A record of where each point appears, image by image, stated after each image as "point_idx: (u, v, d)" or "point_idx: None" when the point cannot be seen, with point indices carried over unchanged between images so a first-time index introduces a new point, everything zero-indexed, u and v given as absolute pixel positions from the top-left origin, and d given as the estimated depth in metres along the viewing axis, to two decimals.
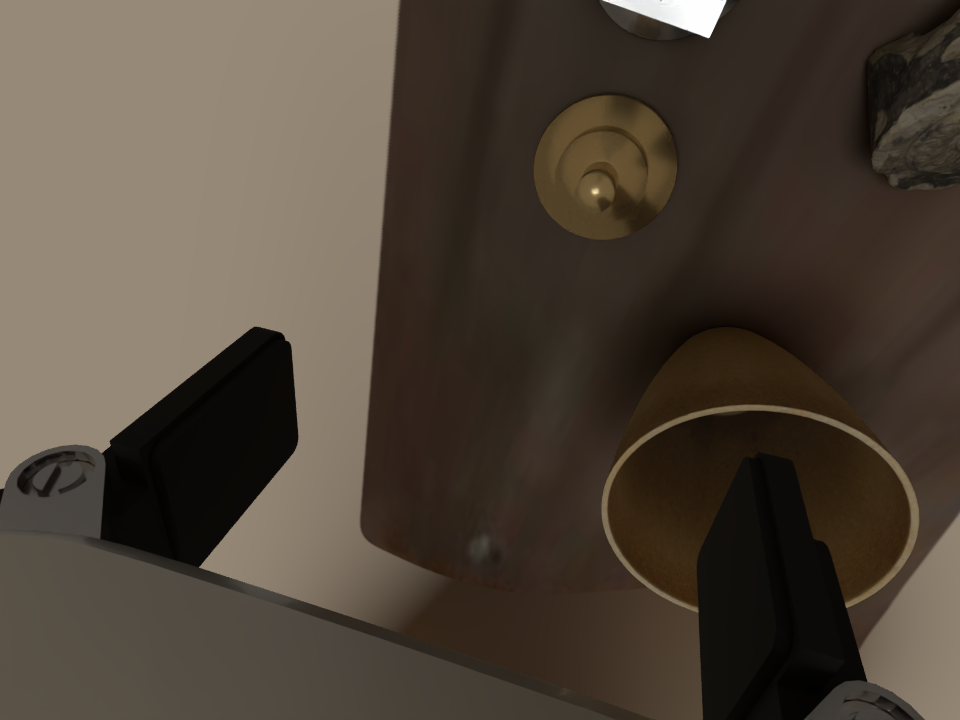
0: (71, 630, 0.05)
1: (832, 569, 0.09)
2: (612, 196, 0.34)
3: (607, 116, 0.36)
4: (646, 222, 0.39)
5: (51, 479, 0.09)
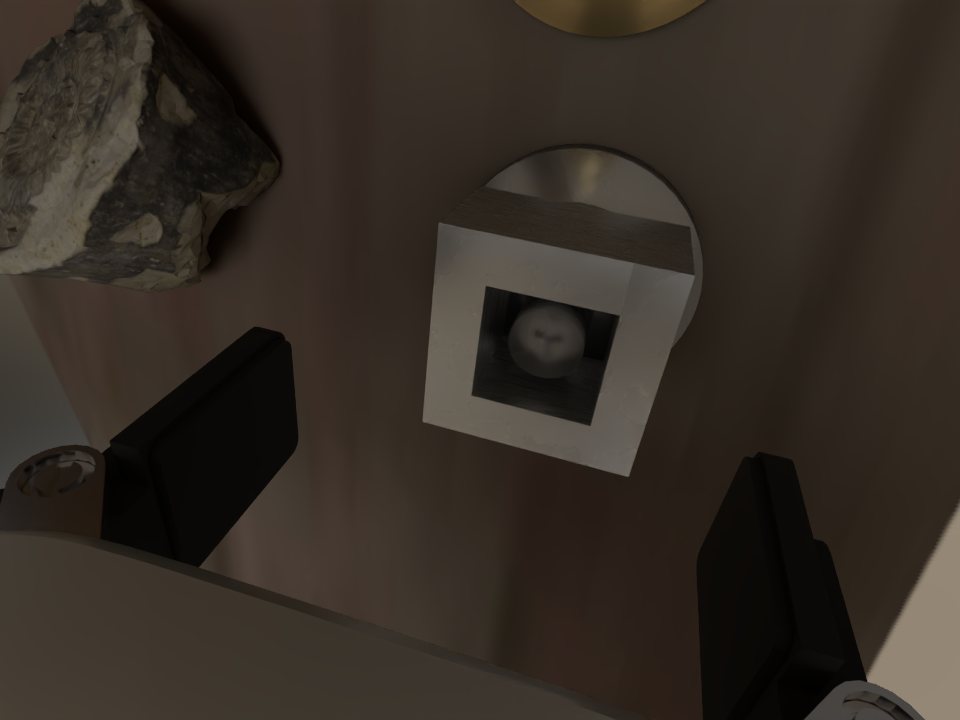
0: (71, 630, 0.05)
1: (832, 569, 0.09)
2: None
3: None
4: None
5: (51, 479, 0.09)
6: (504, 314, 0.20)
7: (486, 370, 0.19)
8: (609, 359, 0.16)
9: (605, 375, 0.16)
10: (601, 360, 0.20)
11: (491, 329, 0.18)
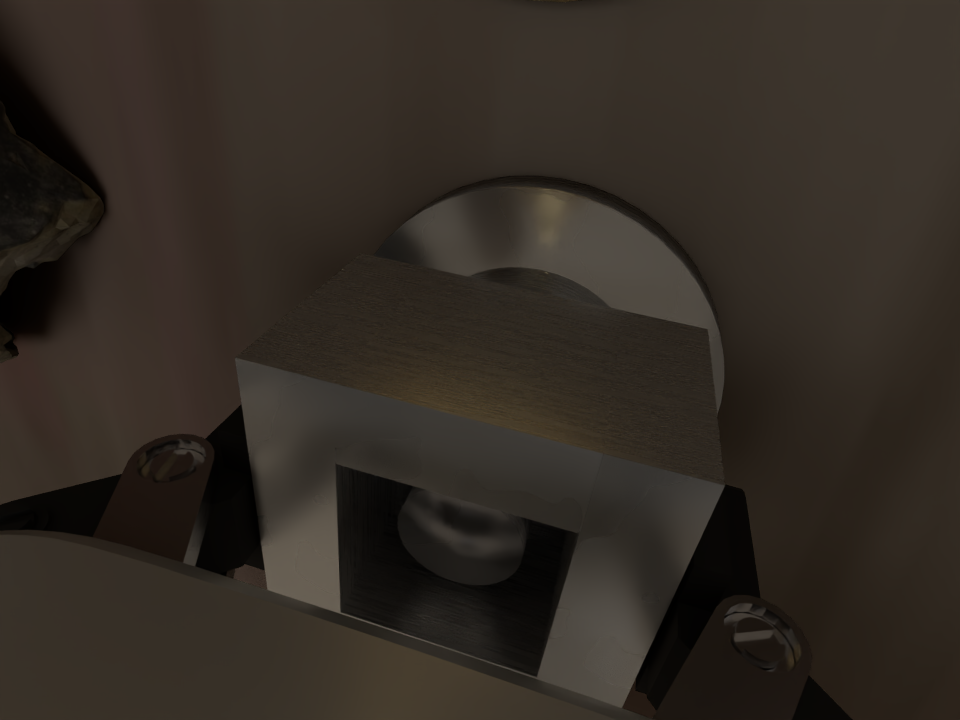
0: (71, 630, 0.05)
1: (745, 511, 0.10)
2: None
3: None
4: None
5: (165, 466, 0.09)
6: None
7: (378, 547, 0.12)
8: (563, 593, 0.09)
9: (557, 614, 0.09)
10: None
11: (380, 491, 0.11)
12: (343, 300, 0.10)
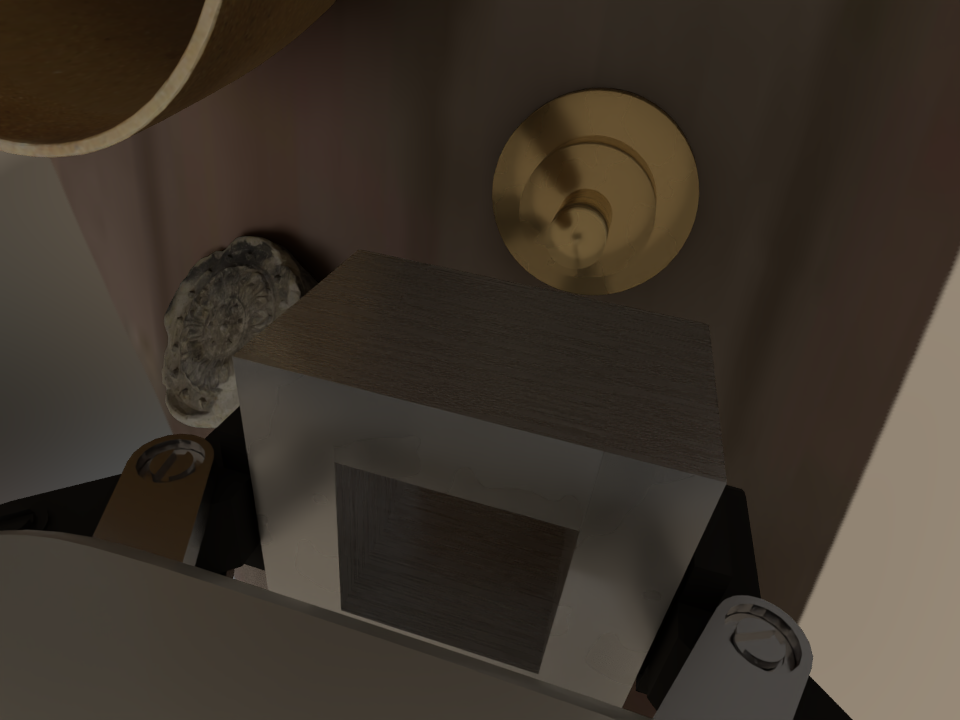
0: (71, 630, 0.05)
1: (745, 511, 0.10)
2: (548, 242, 0.22)
3: None
4: (512, 139, 0.26)
5: (165, 466, 0.09)
6: None
7: (378, 544, 0.12)
8: (564, 590, 0.09)
9: (558, 611, 0.09)
10: None
11: (379, 488, 0.11)
12: (341, 297, 0.10)
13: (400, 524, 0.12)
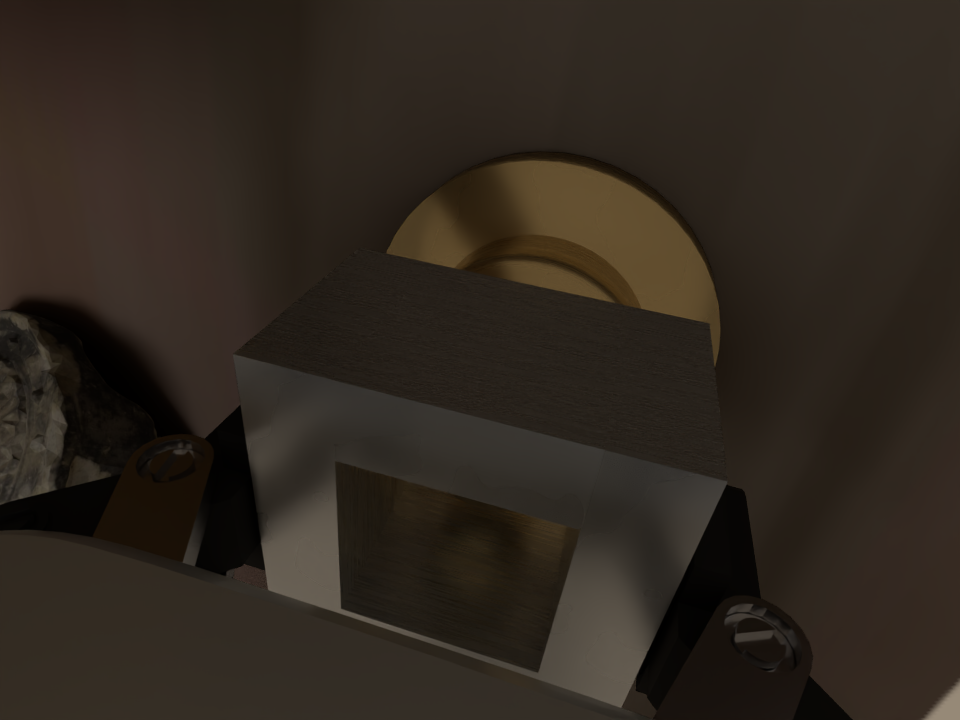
0: (71, 630, 0.05)
1: (745, 511, 0.10)
2: None
3: None
4: (408, 225, 0.15)
5: (165, 466, 0.09)
6: None
7: (378, 543, 0.12)
8: (564, 589, 0.09)
9: (559, 610, 0.09)
10: None
11: (380, 487, 0.11)
12: (342, 295, 0.10)
13: (400, 523, 0.12)
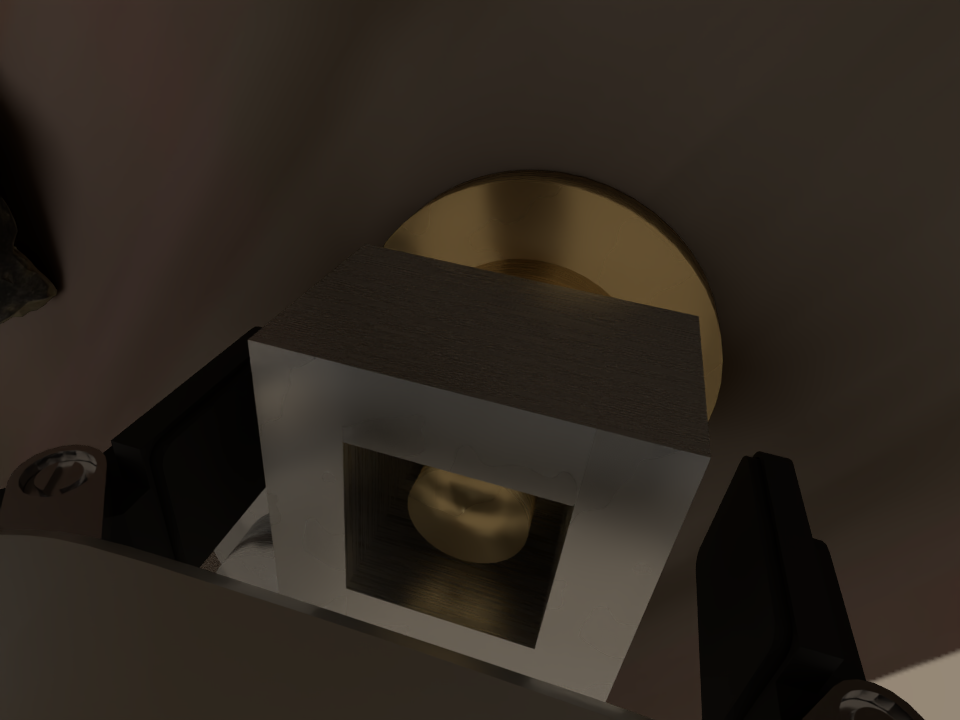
0: (71, 630, 0.05)
1: (831, 568, 0.09)
2: (416, 489, 0.10)
3: None
4: (462, 196, 0.13)
5: (53, 479, 0.09)
6: None
7: (382, 528, 0.12)
8: (559, 565, 0.09)
9: (554, 586, 0.09)
10: None
11: (383, 473, 0.12)
12: (349, 287, 0.10)
13: (402, 509, 0.13)
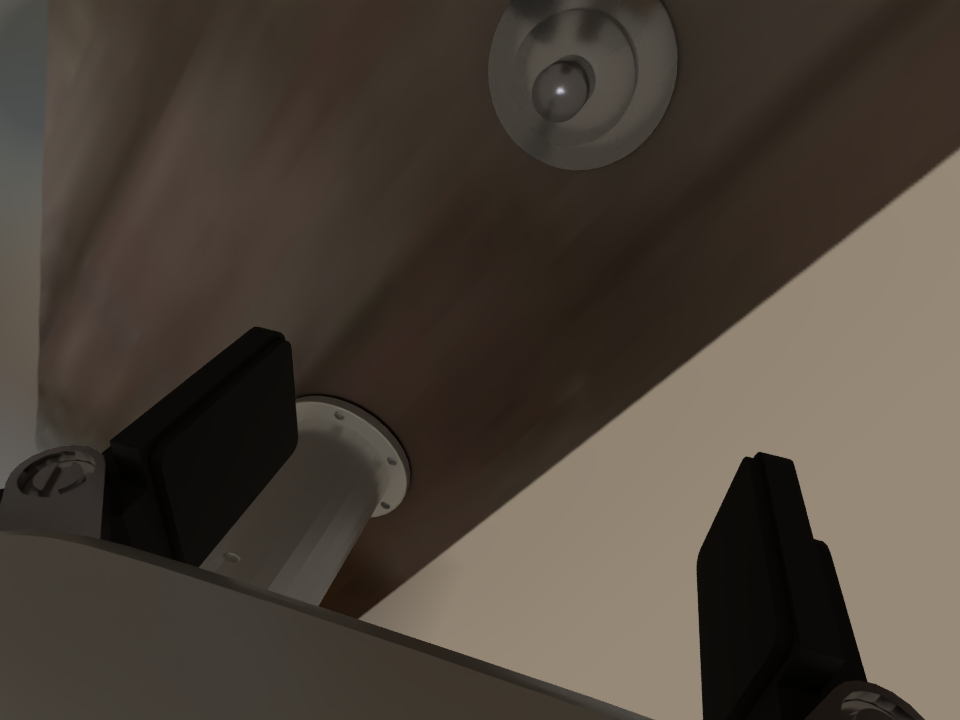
0: (71, 630, 0.05)
1: (832, 569, 0.09)
2: None
3: None
4: None
5: (51, 479, 0.09)
6: None
7: None
8: None
9: None
10: None
11: None
12: None
13: None
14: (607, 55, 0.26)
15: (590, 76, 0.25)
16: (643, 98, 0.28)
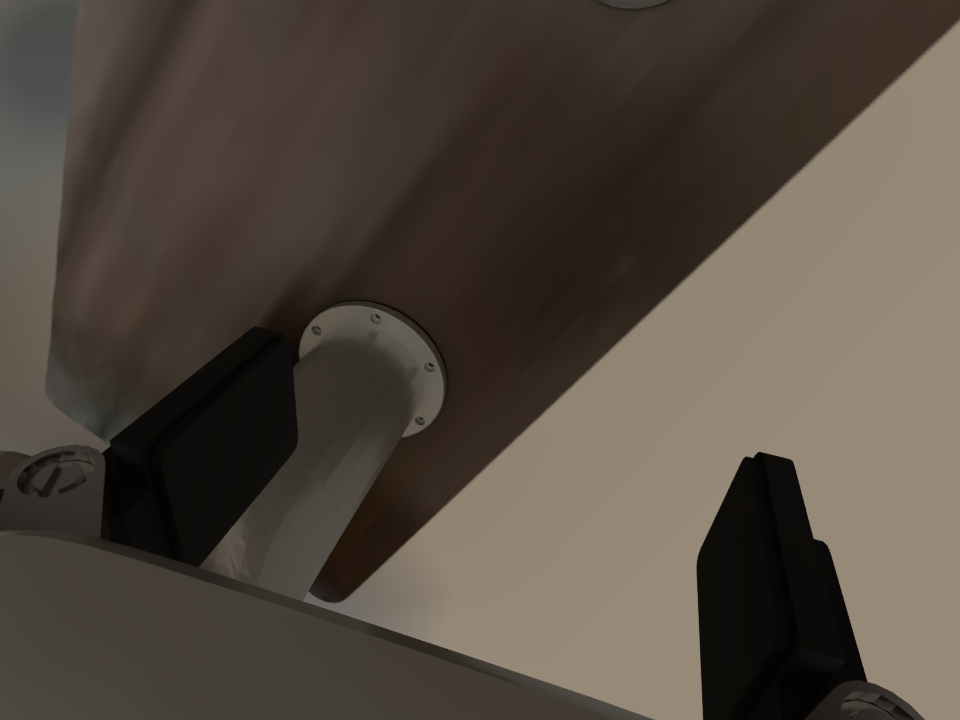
0: (71, 630, 0.05)
1: (832, 569, 0.09)
2: None
3: None
4: None
5: (51, 479, 0.09)
6: None
7: None
8: None
9: None
10: None
11: None
12: None
13: None
14: None
15: None
16: None
